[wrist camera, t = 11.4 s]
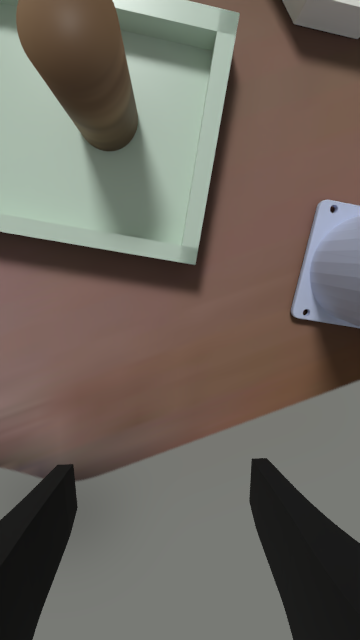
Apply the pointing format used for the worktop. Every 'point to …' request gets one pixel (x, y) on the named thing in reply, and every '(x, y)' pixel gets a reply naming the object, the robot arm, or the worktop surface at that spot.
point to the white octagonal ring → (327, 15)
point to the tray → (136, 157)
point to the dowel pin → (82, 65)
